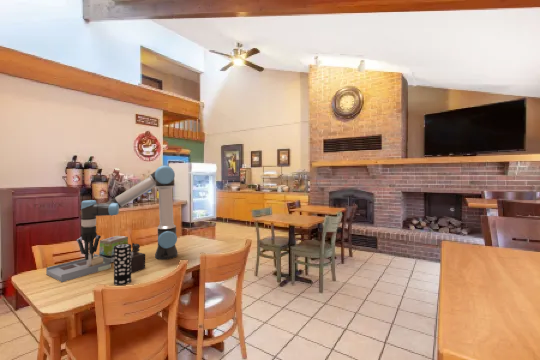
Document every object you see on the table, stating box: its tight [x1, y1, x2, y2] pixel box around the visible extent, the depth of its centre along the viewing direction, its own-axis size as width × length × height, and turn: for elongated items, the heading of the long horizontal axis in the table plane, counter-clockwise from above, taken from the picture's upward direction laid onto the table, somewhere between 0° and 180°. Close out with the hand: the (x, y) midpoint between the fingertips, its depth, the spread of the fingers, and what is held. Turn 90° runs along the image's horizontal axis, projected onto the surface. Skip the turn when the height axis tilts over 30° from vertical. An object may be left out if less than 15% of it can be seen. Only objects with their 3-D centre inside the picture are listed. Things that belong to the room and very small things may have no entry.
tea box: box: [98, 235, 129, 264], centre depth 183 cm, size 15×10×15 cm, turn 168°
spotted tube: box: [113, 243, 132, 286], centre depth 146 cm, size 8×8×20 cm
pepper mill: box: [131, 242, 146, 274], centre depth 164 cm, size 16×11×18 cm
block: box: [88, 256, 103, 267], centre depth 165 cm, size 6×6×4 cm
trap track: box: [45, 253, 112, 283], centre depth 161 cm, size 20×26×6 cm
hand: (89, 264), depth 162 cm, fingers closed
